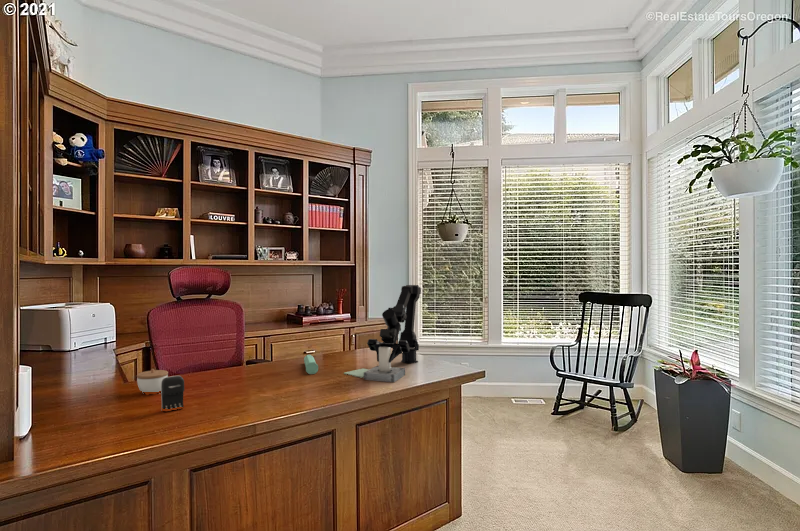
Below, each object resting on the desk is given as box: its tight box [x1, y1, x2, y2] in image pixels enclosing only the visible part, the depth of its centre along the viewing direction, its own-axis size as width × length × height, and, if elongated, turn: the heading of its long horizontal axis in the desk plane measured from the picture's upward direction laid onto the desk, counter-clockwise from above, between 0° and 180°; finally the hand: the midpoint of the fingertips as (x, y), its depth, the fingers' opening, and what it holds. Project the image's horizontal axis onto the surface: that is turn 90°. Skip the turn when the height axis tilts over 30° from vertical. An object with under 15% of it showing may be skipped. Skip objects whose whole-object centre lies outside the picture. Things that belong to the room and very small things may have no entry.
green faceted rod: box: [303, 354, 319, 375], centre depth 225 cm, size 6×6×25 cm
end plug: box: [378, 347, 392, 372], centre depth 206 cm, size 5×5×13 cm
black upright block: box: [160, 375, 185, 409], centre depth 160 cm, size 7×4×11 cm, turn 129°
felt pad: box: [343, 368, 370, 379], centre depth 213 cm, size 12×12×1 cm
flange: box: [363, 365, 406, 383], centre depth 206 cm, size 14×14×3 cm
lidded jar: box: [136, 368, 169, 393], centre depth 182 cm, size 11×11×9 cm
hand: (383, 361), depth 204 cm, fingers closed on end plug, 5 cm apart
